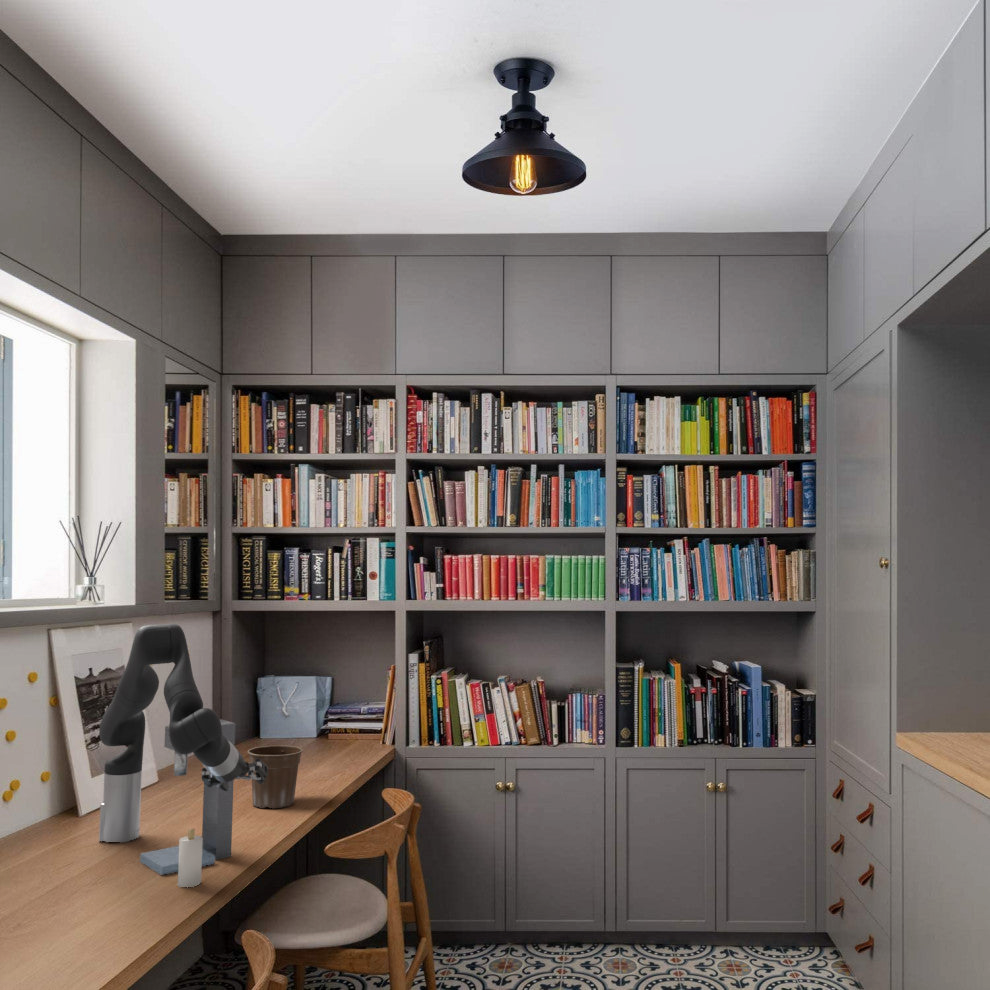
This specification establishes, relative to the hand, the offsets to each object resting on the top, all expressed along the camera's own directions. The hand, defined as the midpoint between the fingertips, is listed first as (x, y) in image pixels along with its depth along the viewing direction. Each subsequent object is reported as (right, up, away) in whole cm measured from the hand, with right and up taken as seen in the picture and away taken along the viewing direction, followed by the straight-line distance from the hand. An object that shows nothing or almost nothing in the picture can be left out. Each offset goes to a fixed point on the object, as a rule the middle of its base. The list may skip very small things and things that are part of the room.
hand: (244, 783), depth 219 cm
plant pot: (-7, -24, +57) cm, 63 cm away
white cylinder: (-9, -19, -13) cm, 24 cm away
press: (-18, -20, +7) cm, 28 cm away
